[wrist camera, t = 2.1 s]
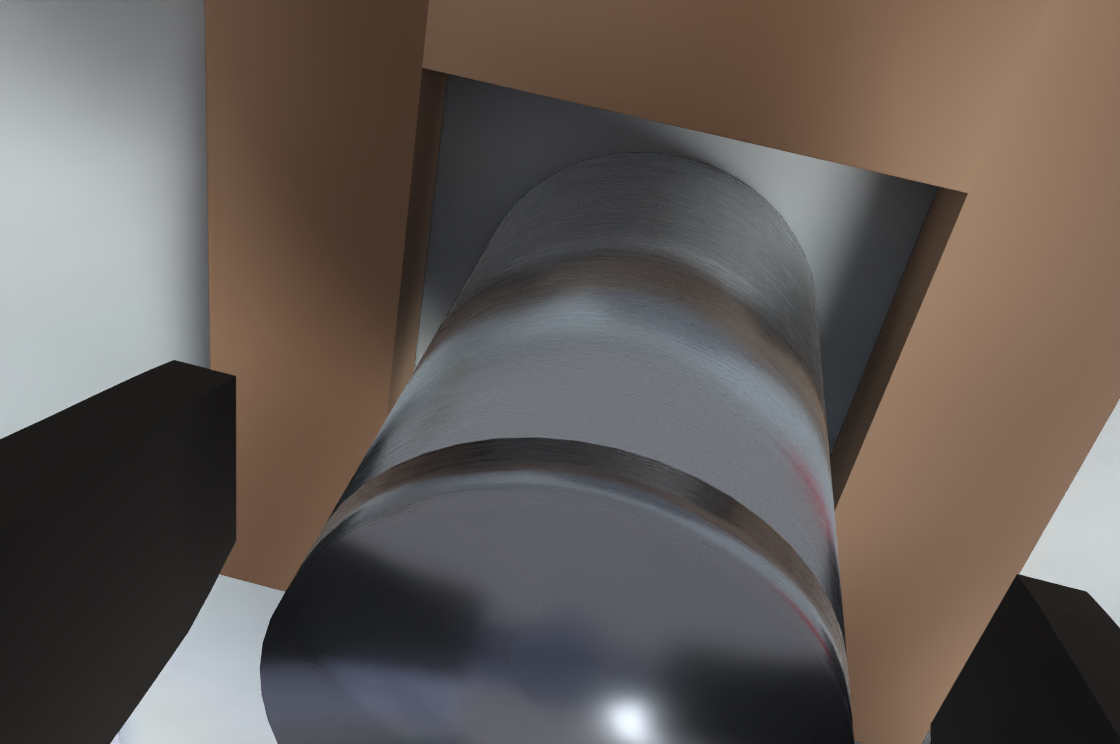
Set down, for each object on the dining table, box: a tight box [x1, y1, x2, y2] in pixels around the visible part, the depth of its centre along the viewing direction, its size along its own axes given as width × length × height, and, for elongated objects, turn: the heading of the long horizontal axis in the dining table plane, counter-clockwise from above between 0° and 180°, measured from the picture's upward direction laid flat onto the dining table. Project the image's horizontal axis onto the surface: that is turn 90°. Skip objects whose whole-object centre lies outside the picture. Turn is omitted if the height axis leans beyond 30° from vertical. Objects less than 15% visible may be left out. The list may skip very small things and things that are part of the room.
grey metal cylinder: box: [260, 152, 854, 744], centre depth 11 cm, size 4×4×7 cm
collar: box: [204, 0, 1120, 744], centre depth 13 cm, size 11×11×1 cm
